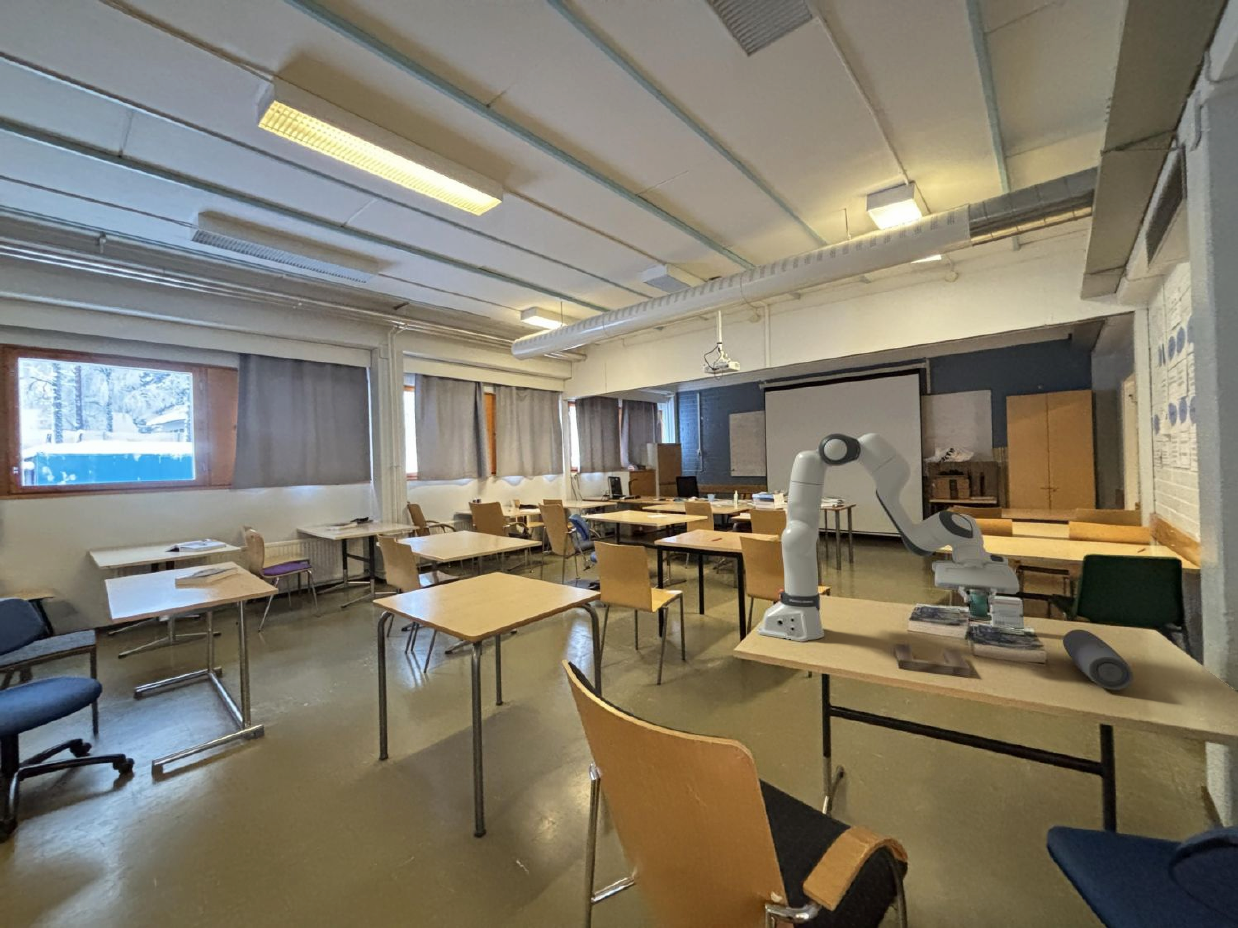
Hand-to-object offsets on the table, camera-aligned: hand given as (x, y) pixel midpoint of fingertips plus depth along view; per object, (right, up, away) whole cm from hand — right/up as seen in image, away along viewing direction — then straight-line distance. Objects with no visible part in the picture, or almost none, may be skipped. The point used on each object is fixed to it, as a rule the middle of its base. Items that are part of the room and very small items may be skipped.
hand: (979, 602), depth 141 cm
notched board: (-12, -19, +3) cm, 23 cm away
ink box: (+29, -18, +28) cm, 44 cm away
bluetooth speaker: (+26, -18, -8) cm, 32 cm away
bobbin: (+1, -5, +1) cm, 5 cm away
